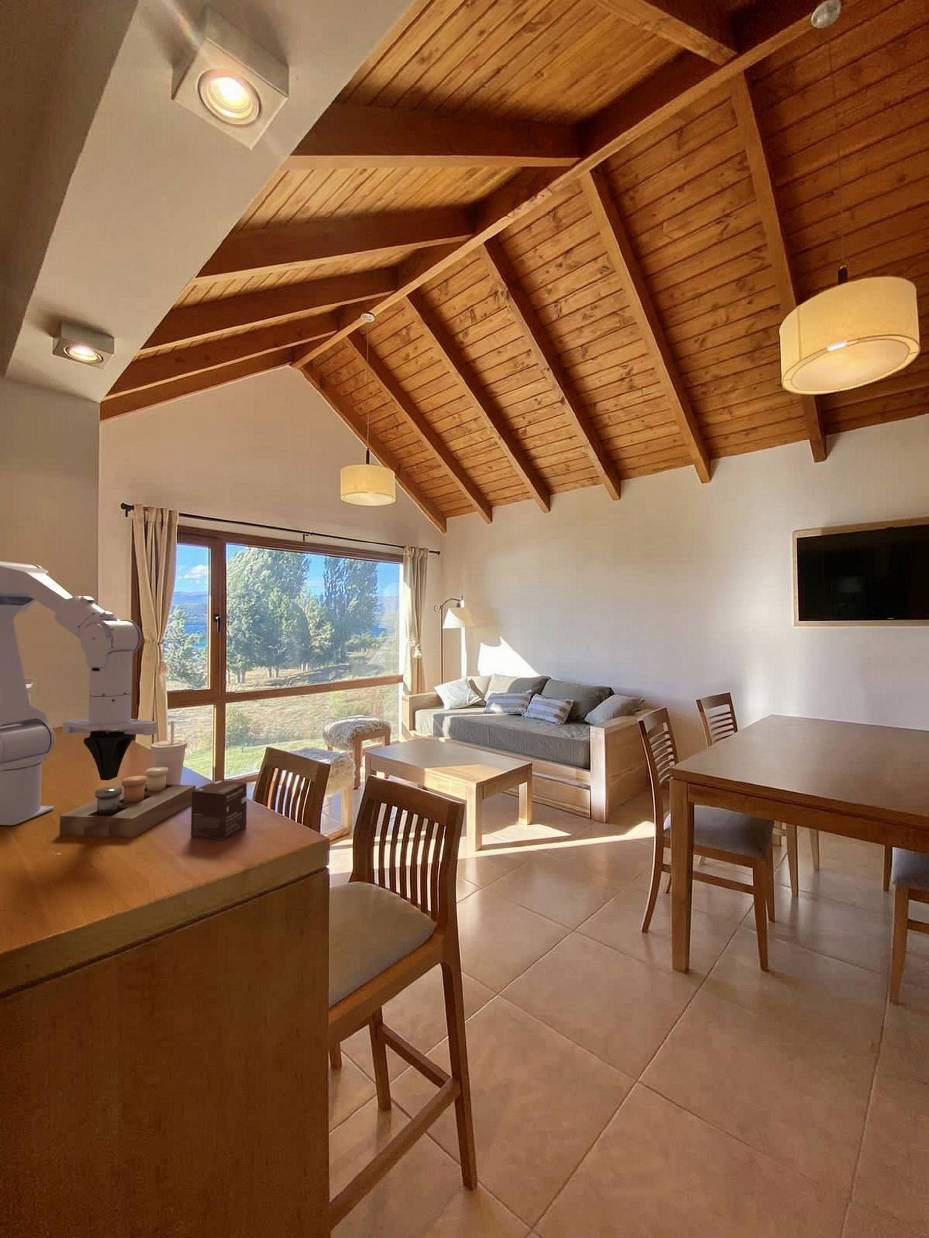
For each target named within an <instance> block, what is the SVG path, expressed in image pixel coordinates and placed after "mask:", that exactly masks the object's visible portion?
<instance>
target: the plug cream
mask: <svg viewBox="0 0 929 1238" xmlns="http://www.w3.org/2000/svg"><path fill="white" fill-rule="evenodd" d="M167 773H168V768H167V767H154V766H153V767H149V768H147V769H145V772H144V776H146V777H147V779H146V784H147V792H161V791H163V790H165V789H166V774H167Z"/></svg>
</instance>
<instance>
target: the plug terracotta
mask: <svg viewBox="0 0 929 1238" xmlns="http://www.w3.org/2000/svg"><path fill="white" fill-rule="evenodd" d="M144 784H147V776H145V775H135V776H128V777H124V778H123V779H121V787H123V788H124V803H139V802H141V801H143V800H144Z"/></svg>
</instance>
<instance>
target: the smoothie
mask: <svg viewBox="0 0 929 1238" xmlns="http://www.w3.org/2000/svg"><path fill="white" fill-rule="evenodd" d="M188 746H189V745H188V741H186V740H182V739H175V721H174V720H171V721H170V740H164V741H162V740H161V741H158V742H153V743H152V744H151V745H150V751H151V752H152V758H153V768H154V767H167V768H168V773H167V774H166V784H172V785H181V780H182V774H183V768H184V760H185V754H186V749H187V748H188Z"/></svg>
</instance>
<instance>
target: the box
mask: <svg viewBox="0 0 929 1238" xmlns="http://www.w3.org/2000/svg"><path fill="white" fill-rule="evenodd" d="M247 784H248V782H239V781H227V780H226V781H225V780H215V781H214V782H213V781H212V782H210V783H207V784H204V785H202V786H201V787H199V788H196V790H193V791H192V803H191V808H190V809H191V810H190V811H191V814H190V817H191V818H190V836H191V837H193V838H197V839H198V838H199V839H210V840H211V839H213V840H219V841H221V840H223V841H224V840H226V839H228V838H230V837H232V836H233V835H235V834H237V833H238V832H239V831H238V830H240V829H241V828H243V827H245V826H247V815H248V814H247V813H248V811H247V807H248V806H247V799H245V798H247V795H248V793H247V792H248V791H247V789H248V787H247V786H248V785H247ZM245 828H246V827H245ZM243 829H244V828H243ZM241 830H242V829H241ZM241 830H240V831H241ZM237 831H238V832H237ZM234 833H235V834H234ZM232 834H233V835H232Z"/></svg>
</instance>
